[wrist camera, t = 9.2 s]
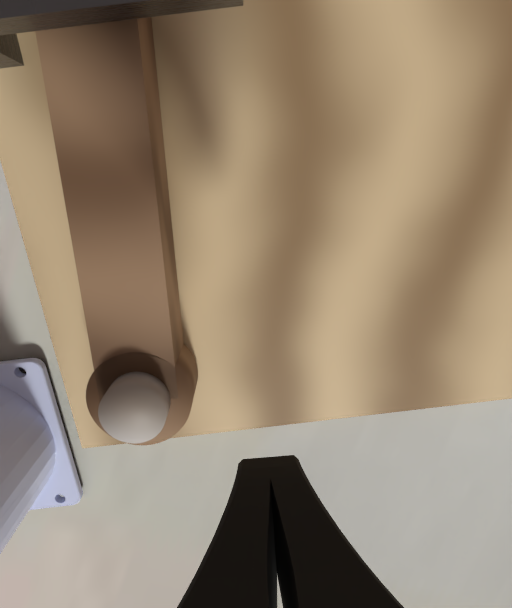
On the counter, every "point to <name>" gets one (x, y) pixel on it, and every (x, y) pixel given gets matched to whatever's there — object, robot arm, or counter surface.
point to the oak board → (309, 207)
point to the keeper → (82, 16)
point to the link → (120, 224)
